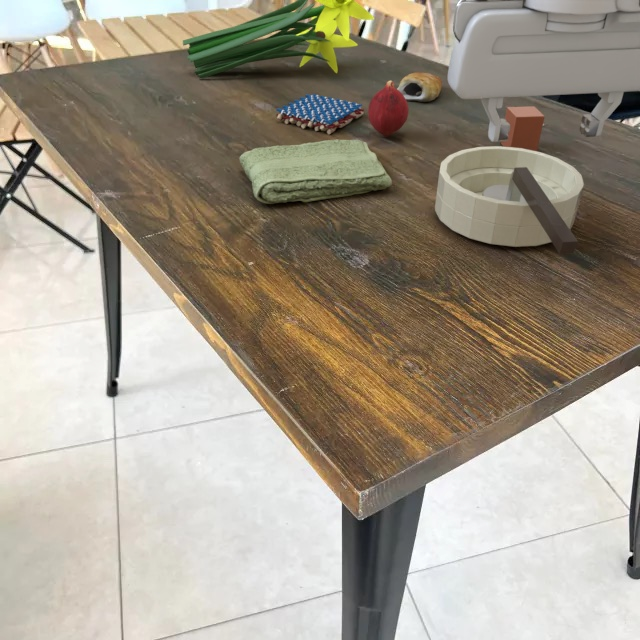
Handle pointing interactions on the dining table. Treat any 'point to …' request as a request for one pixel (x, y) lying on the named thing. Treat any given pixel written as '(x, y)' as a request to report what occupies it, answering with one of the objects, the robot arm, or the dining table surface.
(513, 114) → the terracotta upright block
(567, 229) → the ladle
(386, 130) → the onion
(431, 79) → the pastry
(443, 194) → the bowl
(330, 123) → the woven mat
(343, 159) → the washcloth
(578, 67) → the robot arm
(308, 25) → the daffodil flowers
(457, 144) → the dining table surface
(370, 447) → the dining table surface
